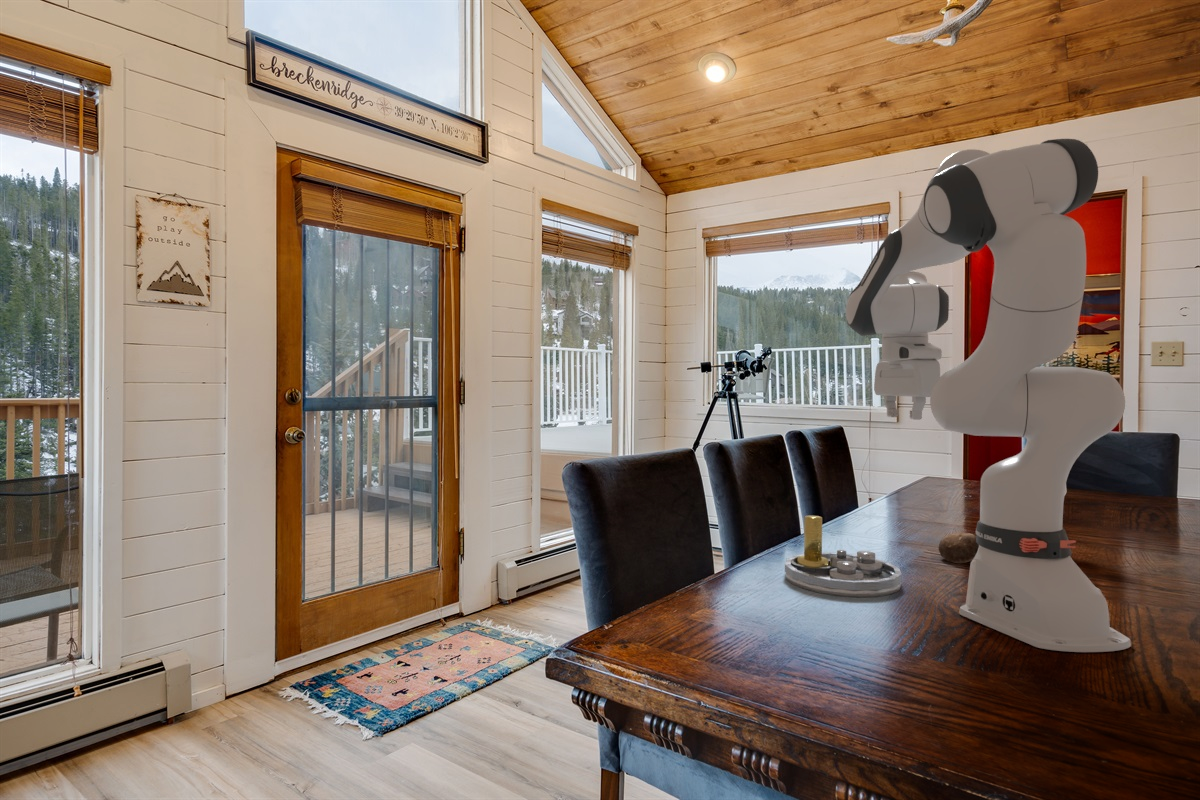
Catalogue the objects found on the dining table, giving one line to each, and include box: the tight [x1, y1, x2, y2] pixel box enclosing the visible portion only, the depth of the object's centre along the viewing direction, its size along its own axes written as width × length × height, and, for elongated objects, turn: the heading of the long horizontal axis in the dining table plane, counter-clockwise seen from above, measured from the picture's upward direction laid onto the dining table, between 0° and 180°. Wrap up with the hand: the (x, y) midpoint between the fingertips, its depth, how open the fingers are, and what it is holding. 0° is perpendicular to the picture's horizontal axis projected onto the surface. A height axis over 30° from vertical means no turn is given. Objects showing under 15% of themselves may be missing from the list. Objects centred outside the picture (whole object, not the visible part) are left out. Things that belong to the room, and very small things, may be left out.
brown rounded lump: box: [938, 532, 979, 564], centre depth 140 cm, size 8×8×6 cm
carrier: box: [784, 549, 903, 598], centre depth 126 cm, size 20×20×5 cm
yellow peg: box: [798, 515, 828, 567], centre depth 129 cm, size 6×6×10 cm
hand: (903, 418), depth 142 cm, fingers open, 8 cm apart
